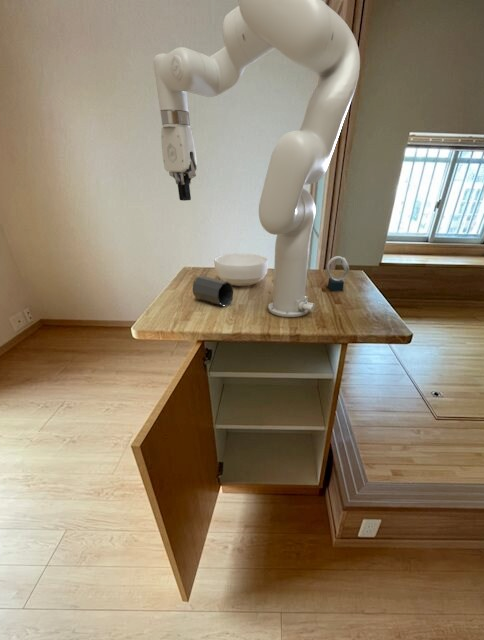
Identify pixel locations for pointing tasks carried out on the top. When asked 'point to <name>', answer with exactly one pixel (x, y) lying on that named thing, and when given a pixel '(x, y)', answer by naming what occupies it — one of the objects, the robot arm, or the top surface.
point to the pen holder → (213, 290)
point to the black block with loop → (337, 283)
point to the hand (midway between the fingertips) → (185, 200)
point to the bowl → (241, 268)
